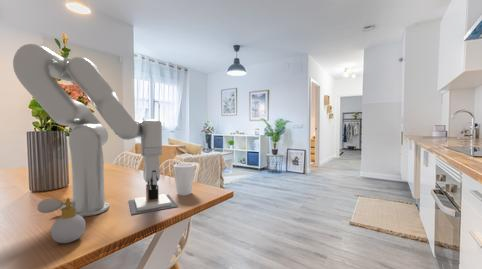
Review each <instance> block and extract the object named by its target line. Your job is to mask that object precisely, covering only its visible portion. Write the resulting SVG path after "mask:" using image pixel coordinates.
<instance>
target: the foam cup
mask: <svg viewBox="0 0 482 269" xmlns="http://www.w3.org/2000/svg"><path fill="white" fill-rule="evenodd" d="M195 170H196V168H195V164H194V163H175V164H173V173H174V181H175V186H176V193H177V195H179V196H189V195H191V194H192V191H193V185H194V184H193V182H194V175H195Z"/></svg>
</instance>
